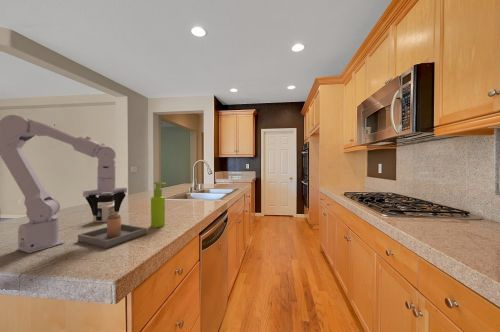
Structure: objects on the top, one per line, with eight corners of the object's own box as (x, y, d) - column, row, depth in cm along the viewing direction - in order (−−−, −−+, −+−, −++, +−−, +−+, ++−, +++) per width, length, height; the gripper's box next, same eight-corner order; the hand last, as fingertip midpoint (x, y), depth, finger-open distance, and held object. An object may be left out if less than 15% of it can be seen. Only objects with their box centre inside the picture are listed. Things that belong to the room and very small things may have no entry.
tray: (106, 248, 71) (106, 241, 71) (77, 241, 78) (77, 234, 78) (146, 234, 86) (146, 228, 86) (119, 229, 93) (119, 223, 92)
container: (108, 222, 103) (108, 195, 103) (92, 222, 103) (92, 195, 103) (118, 218, 111) (118, 193, 110) (104, 218, 111) (104, 193, 111)
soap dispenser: (161, 227, 95) (161, 182, 94) (147, 226, 96) (147, 182, 96) (169, 224, 100) (169, 181, 100) (156, 223, 102) (156, 181, 102)
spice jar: (109, 239, 79) (109, 218, 79) (104, 236, 82) (105, 215, 82) (122, 235, 82) (123, 215, 82) (118, 233, 85) (118, 213, 85)
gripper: (120, 176, 90) (120, 208, 91) (79, 178, 78) (79, 215, 78) (129, 177, 87) (129, 210, 87) (88, 179, 74) (88, 218, 74)
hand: (106, 213), depth 82 cm, fingers open, 7 cm apart
